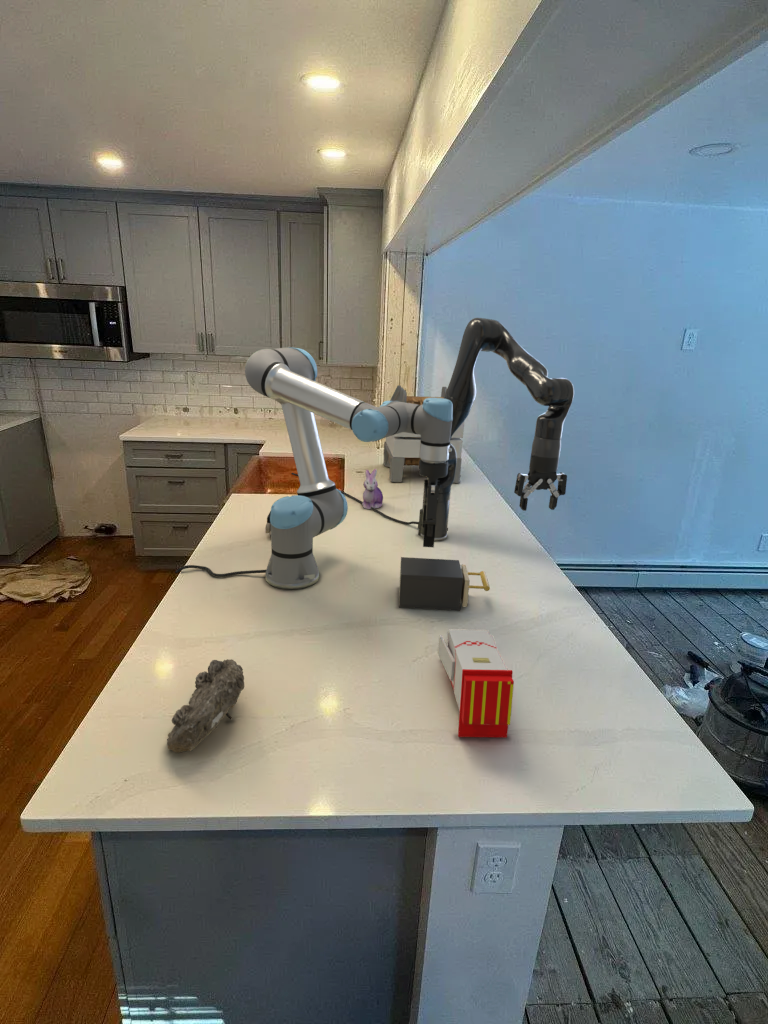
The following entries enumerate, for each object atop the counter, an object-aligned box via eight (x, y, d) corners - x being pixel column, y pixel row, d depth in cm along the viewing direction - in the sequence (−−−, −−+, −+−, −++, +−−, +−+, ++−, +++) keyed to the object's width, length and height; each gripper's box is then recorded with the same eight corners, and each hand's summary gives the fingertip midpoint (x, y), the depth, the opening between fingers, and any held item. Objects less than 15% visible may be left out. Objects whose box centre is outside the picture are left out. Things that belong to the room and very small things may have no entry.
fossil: (192, 660, 117) (244, 628, 112) (224, 691, 120) (276, 661, 115) (142, 746, 98) (202, 712, 93) (182, 779, 101) (242, 748, 96)
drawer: (483, 590, 160) (485, 565, 157) (487, 608, 151) (491, 581, 148) (410, 586, 160) (412, 561, 157) (410, 603, 151) (412, 577, 148)
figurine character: (285, 543, 190) (291, 523, 204) (284, 523, 187) (290, 504, 201) (265, 543, 190) (272, 522, 204) (263, 523, 187) (271, 503, 200)
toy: (488, 613, 130) (523, 677, 101) (484, 667, 133) (517, 744, 104) (435, 612, 130) (455, 676, 101) (432, 666, 133) (451, 743, 103)
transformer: (382, 463, 289) (386, 382, 275) (445, 464, 293) (451, 384, 279) (390, 482, 257) (394, 392, 243) (460, 483, 261) (468, 394, 247)
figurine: (367, 511, 220) (368, 474, 215) (356, 503, 228) (357, 467, 223) (388, 508, 224) (390, 471, 219) (377, 500, 233) (378, 465, 228)
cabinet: (456, 591, 161) (459, 560, 158) (459, 610, 150) (463, 577, 147) (399, 588, 161) (401, 557, 158) (398, 607, 151) (400, 574, 147)
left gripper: (451, 474, 133) (443, 556, 140) (446, 449, 157) (439, 520, 164) (419, 472, 133) (413, 554, 141) (418, 447, 157) (413, 519, 164)
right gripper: (562, 449, 159) (554, 504, 164) (515, 450, 156) (508, 505, 161) (576, 456, 152) (567, 513, 157) (527, 456, 149) (519, 514, 154)
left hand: (427, 536), depth 152 cm, fingers open, 13 cm apart
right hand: (537, 509), depth 159 cm, fingers open, 8 cm apart
